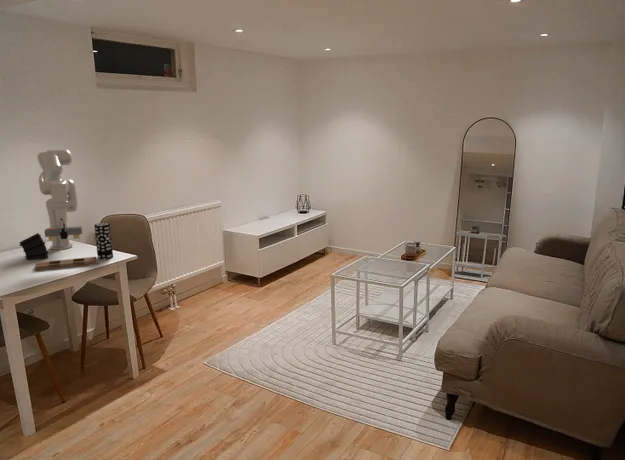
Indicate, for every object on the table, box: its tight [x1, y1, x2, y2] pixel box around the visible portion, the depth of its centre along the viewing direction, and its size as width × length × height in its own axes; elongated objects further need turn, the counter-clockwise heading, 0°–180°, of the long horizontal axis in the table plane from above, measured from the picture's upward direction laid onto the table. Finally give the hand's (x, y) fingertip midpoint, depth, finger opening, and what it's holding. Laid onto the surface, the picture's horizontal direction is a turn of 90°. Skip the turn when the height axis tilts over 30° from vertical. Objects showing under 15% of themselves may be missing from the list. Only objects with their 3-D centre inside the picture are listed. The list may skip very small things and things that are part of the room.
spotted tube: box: [93, 222, 114, 261], centre depth 280 cm, size 8×8×20 cm
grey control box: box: [44, 225, 83, 242], centre depth 263 cm, size 4×18×7 cm, turn 113°
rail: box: [34, 256, 98, 272], centre depth 267 cm, size 8×30×2 cm, turn 113°
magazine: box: [19, 232, 49, 261], centre depth 278 cm, size 4×13×15 cm, turn 104°
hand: (64, 237), depth 264 cm, fingers closed on grey control box, 4 cm apart
